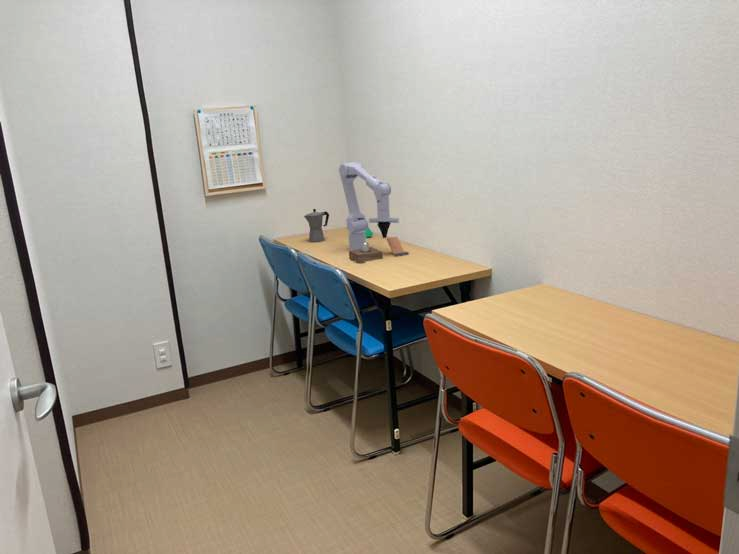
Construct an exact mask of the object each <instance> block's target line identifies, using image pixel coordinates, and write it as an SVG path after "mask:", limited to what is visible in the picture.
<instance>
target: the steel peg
mask: <svg viewBox="0 0 739 554" xmlns="http://www.w3.org/2000/svg"><path fill="white" fill-rule="evenodd" d="M369 244H370V243H369V241H368V242H367V241H366V242H363V243H362V252H363V253H364V252H369V247H370V246H369Z"/></svg>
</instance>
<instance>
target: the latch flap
mask: <svg viewBox="0 0 739 554" xmlns="http://www.w3.org/2000/svg"><path fill="white" fill-rule="evenodd" d="M386 241H387V243H388V245H389V248H390V249H391V252H392V254H393V255H394V254H395V253H401V252H405V250H404V249H403V246H402V243H401V241H400V239H399V236H391V237H386Z"/></svg>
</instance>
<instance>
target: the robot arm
mask: <svg viewBox="0 0 739 554" xmlns="http://www.w3.org/2000/svg"><path fill="white" fill-rule="evenodd" d="M338 172H339V173H338V174H339V176H340V181H341V184H342V188H343V192H344V195H345V200H346V204H347V208H348V213H349V215H348V217H347V218H346V229H347V231H348V233H350V235H349V234H348V245H349V247H348V248H347V249H348V251H351V250H357V249H362V243H363V242H367V241H366V238H365V232H366V230H367V229H368V227H369V223H370V224H371V223H374V224H375V223H376V224H377V227H378V229H379V230H380V233H381V236H382V238H383V239H387V238H388V231H389V228H390V225H391V224H392V223H393V224H395V223H396V224H398V223H400V218H396V217H391V216H390V199H389V198H390V197H389V195H391V193H392V187H391V185H390V184H389V183H388V182H383V181H382V180H380V179H379V178H378V177H377V175H373V174H372V175H370V174H369V173H368V172H367V171H366V170H365V169H364V167H363V164H361V163H360V162H359V161H353V162H352V161H351V162H342V163H340V166H339V168H338ZM357 177H358V178H360V179H362V180H363V181H364V182H365V185H366V186H367V187H368V188H369V189H371V190H372V191H373V194H374V196H375V200H376V207H377V210H376V211H377V217H370V218H369V219H368V220H367V218H366V215H364V214H363V213H362V212H361V209H360V207H359V202H358V199H357V198H358V197H357V194H356V189H355V186H354V181H355V180H356V179H357Z"/></svg>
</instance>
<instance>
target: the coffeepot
mask: <svg viewBox="0 0 739 554" xmlns="http://www.w3.org/2000/svg"><path fill="white" fill-rule="evenodd" d="M312 211H313V212H310V213H307V214H306V215H304V216H303V218H305V220H306V221H307V222H308V226H309V236H308V241H309V243H321V242H325V235H324V231H323V228H322V227H326V226H328V223H329V219H330V214H329V212H328V211H321V212H318V211H317V209H316V208H313V209H312ZM323 216H325V221H324V222H325V223H324V224H323V219H324V218H323Z"/></svg>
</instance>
